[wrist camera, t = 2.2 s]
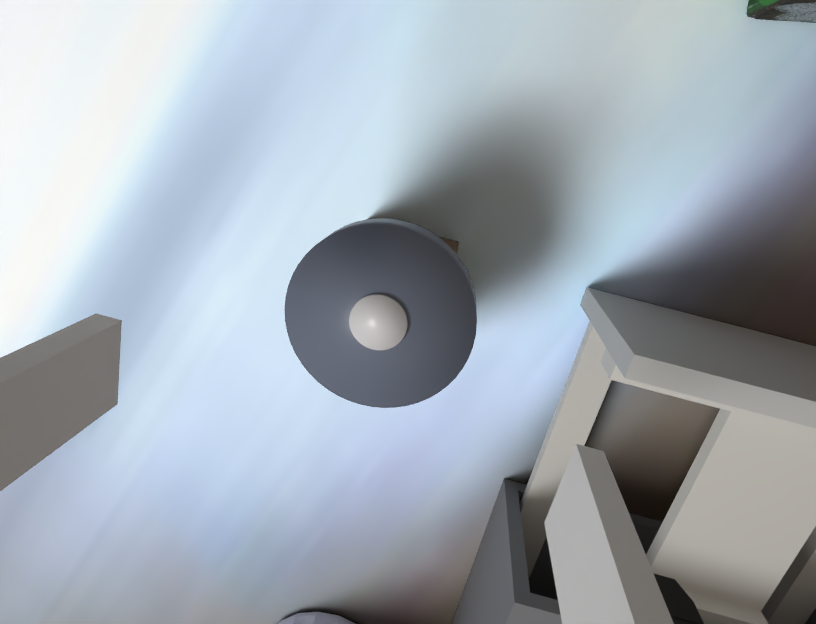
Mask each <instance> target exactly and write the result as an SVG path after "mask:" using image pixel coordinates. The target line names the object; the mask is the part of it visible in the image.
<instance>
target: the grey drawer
mask: <svg viewBox="0 0 816 624" xmlns="http://www.w3.org/2000/svg"><path fill="white" fill-rule="evenodd" d="M580 305H581V307H582V309H583V310H584V312H585V314H586V315H587V317H588V319H589V320H590V321H589V324H588V327H587V329H586V332H585V335H584V337H583V340H582V342H581V345H580V348H579V350H578V353H577V355H576V358H575V361H574V363H573V366H572V369H571V371H570V374H569V376H568V379H567V382H566V384H565V387H564V389H563V392H562V395H561V397H560V400H559V403H558V405H557V408H556V410H555V413H554V416H553V418H552V421H551V423H550V426H549V429H548V431H547V434H546V437H545V439H544V442H543V444H542V447H541V450H540V452H539V455H538V457H537V460H536V463H535V465H534V468H533V471H532V473H531V476H530V478H529V481H528V484H527V486H526V489H525V491H524V494H523V497H522V499H521V502H520V513H521V521H522V530H523V538H524V546H525V555H526V563H527V571H528V578H529V577H530V575H531V573H532V570H533V568H534V565H535V563H536V560H537V558H538V556H539V553H540V551H541V548H542V546H543V544H544V541H545V539H546V536H547V535H546V530H545V524H544V522H545V520H546V517H547V515H548V512H549V510H550V507H551V505H552V502H553V500H554V497H555V495H556V492H557V490H558V487H559V485H560V482H561V480H562V477H563V475H564V473H565V470H566V468H567V465H568V463H569V460H570V458H571V455H572V453H573V450H574V448H575V445H576V444H579V445H583V446H584V445H585V443H586V440H587V438H588V436H589V433H590V431H591V428H592V426H593V424H594V421H595V419H596V416H597V414H598V411H599V409H600V407H601V404H602V402H603V399H604V397H605V395H606V392H607V390H608V387H609V385H610V383H611V380H614V381H617V382H621V383H625V384H629V385H633V386H636V387H640V388H644V389H648V390H652V391H655V392H659V393H663V394H667V395H671V396H674V397H678V398H682V399H686V400H690V401H693V402H697V403H701V404H705V405H709V406H712V407H716V408H720V411H719V413H718V415H717V416H716V418H715V420H714V422H713V424H712V426H711V428H710V430H709V432H708V434H707V436H706V438H705V440H704V442H703V444H702V446H701V448H700V450H699V452H698V454H697V456H696V458H695V460H694V462H693V464H692V466H691V467H690V469H689V471H688V473H687V475H686V477H685V479H684V481H683V483H682V485H681V487H680V489H679V491H678V493H677V495H676V497H675V499H674V501H673V503H672V505H671V507H670V509H669V511H668V513H667V515H666V517H665V518H664V520H663V522H662V524H661V526H660V528H659V530H658V532H657V534H656V536H655V538H654V540H653V542H652V544H651V546H650V548H649V550H648V552H647V554H646V557H647V559H648V561H649V564H650V566H651V569H652V571H653V573H654V574H658V575H661V576H665V577H669V578H672V579H675V580H676V581H677V582H678V584H679V585H680V586H681V587H682V588H683V590H684V591H685V592H686V593H687V594H688V596H689V597H690V598H691V599H692V600H693V602H694V604H695V606H696V608H697V610H698V612H699V614H700V616H701V618H702V621H703V623H704V624H805V623H806V621H807V620H808V618H809V617H810V616H811V614H812V613H813V611H814V610H815V608H816V346H813V345H809V344H805V343H801V342H797V341H793V340H789V339H785V338H781V337H778V336H774V335H770V334H766V333H762V332H758V331H754V330H750V329H747V328H743V327H739V326H735V325H731V324H727V323H723V322H719V321H715V320H712V319H708V318H704V317H700V316H696V315H692V314H688V313H684V312H681V311H677V310H673V309H669V308H665V307H661V306H657V305H653V304H649V303H646V302H642V301H638V300H634V299H630V298H626V297H622V296H618V295H615V294H611V293H607V292H603V291H599V290H595V289H591V288H587V287H586V290H585V293H584V296H583V298H582V301H581V304H580Z"/></svg>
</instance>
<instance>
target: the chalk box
mask: <svg viewBox="0 0 816 624" xmlns="http://www.w3.org/2000/svg"><path fill="white" fill-rule="evenodd" d="M747 16H748V17H753V18H755V19H765V20H782V21H800V22H811V23H816V0H749V3H748V7H747Z"/></svg>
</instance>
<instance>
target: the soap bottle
mask: <svg viewBox="0 0 816 624" xmlns="http://www.w3.org/2000/svg"><path fill="white" fill-rule="evenodd" d="M278 624H355V623H353V622H351V621H349V620H347V619H345V618H343V617H341V616H338V615H333V614H328V613H323V612H307V613H297V614H295V615H293V616H290V617H288V618H286V619H283V620H281V621H280V622H279V623H278Z"/></svg>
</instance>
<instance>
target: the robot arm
mask: <svg viewBox="0 0 816 624" xmlns="http://www.w3.org/2000/svg"><path fill="white" fill-rule="evenodd" d="M121 322H122V320H118V319H114V318H111V317H107V316H103V315H100V314H94V315H92V316H90V317H88V318H85V319H83V320H81V321H79V322H77V323H75V324H72V325H70V326H68V327H66V328H64V329H62V330H60V331H57V332H55V333H53V334H51V335H49V336H47V337H44V338H42V339H40V340H38V341H36V342H34V343H32V344H29V345H27V346H25V347H23V348H21V349H19V350H17V351H14V352H12V353H10V354H8V355H6V356H4V357H1V358H0V491H1V490H3V489H4V488H5V487H7V486H8V485H9V484H11V483H12V482H13V481H15V480H16V479H17V478H19V477H20V476H21V475H23V474H24V473H25V472H27V471H28V470H29V469H31V468H32V467H33V466H35V465H36V464H37V463H39V462H40V461H41V460H43V459H44V458H45V457H47V456H48V455H50V454H51V453H52V452H54V451H55V450H56V449H58V448H59V447H60V446H62V445H63V444H64V443H66V442H67V441H68V440H70V439H71V438H72V437H74V436H75V435H76V434H78V433H79V432H80V431H82V430H83V429H84V428H86V427H87V426H88V425H90V424H91V423H92V422H94V421H95V420H97V419H98V418H99V417H101V416H102V415H103V414H105V413H106V412H107V411H109V410H110V409H111V408H113V407H114V406H115V405H117V402H118V382H119V362H120V342H121ZM544 524H545V530H546V535H547V541H548V546H549V552H550V558H551V563H552V569H553V575H554V580H555V586H556V592H557V597H558V603H559V609H560V614H561V620H562V624H704V623H703V621H702V618H701V616H700V614H699V612H698V610H697V608H696V606H695V604H694V602H693V600H692V599H691V598H690V597H689V596H688V594H687V593H686V592H685V591H684V590H683V588H682V587H681V586H680V585H679V584H678V582H677V581H676V580H675V579H672V578H669V577H665V576H661V575H658V574H654V573H653V571H652V569H651V566H650V564H649V561H648V559H647V557H646V554H645V552H644V549H643V547H642V544H641V542H640V539H639V537H638V534H637V532H636V530H635V527H634V525H633V522H632V520H631V517H630V515H629V512H628V510H627V507H626V505H625V502H624V500H623V498H622V495H621V493H620V490H619V488H618V485H617V483H616V480H615V478H614V475H613V473H612V470H611V468H610V466H609V463H608V461H607V458H606V456H605V453H604V451H601V450H597V449H594V448H590V447H586V446H583V445H579V444H576V445H575V448H574V450H573V453H572V455H571V458H570V460H569V463H568V465H567V468H566V470H565V473H564V475H563V477H562V480H561V482H560V485H559V487H558V490H557V492H556V495H555V497H554V500H553V502H552V505H551V507H550V510H549V512H548V515H547V517H546V520H545V522H544Z"/></svg>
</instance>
